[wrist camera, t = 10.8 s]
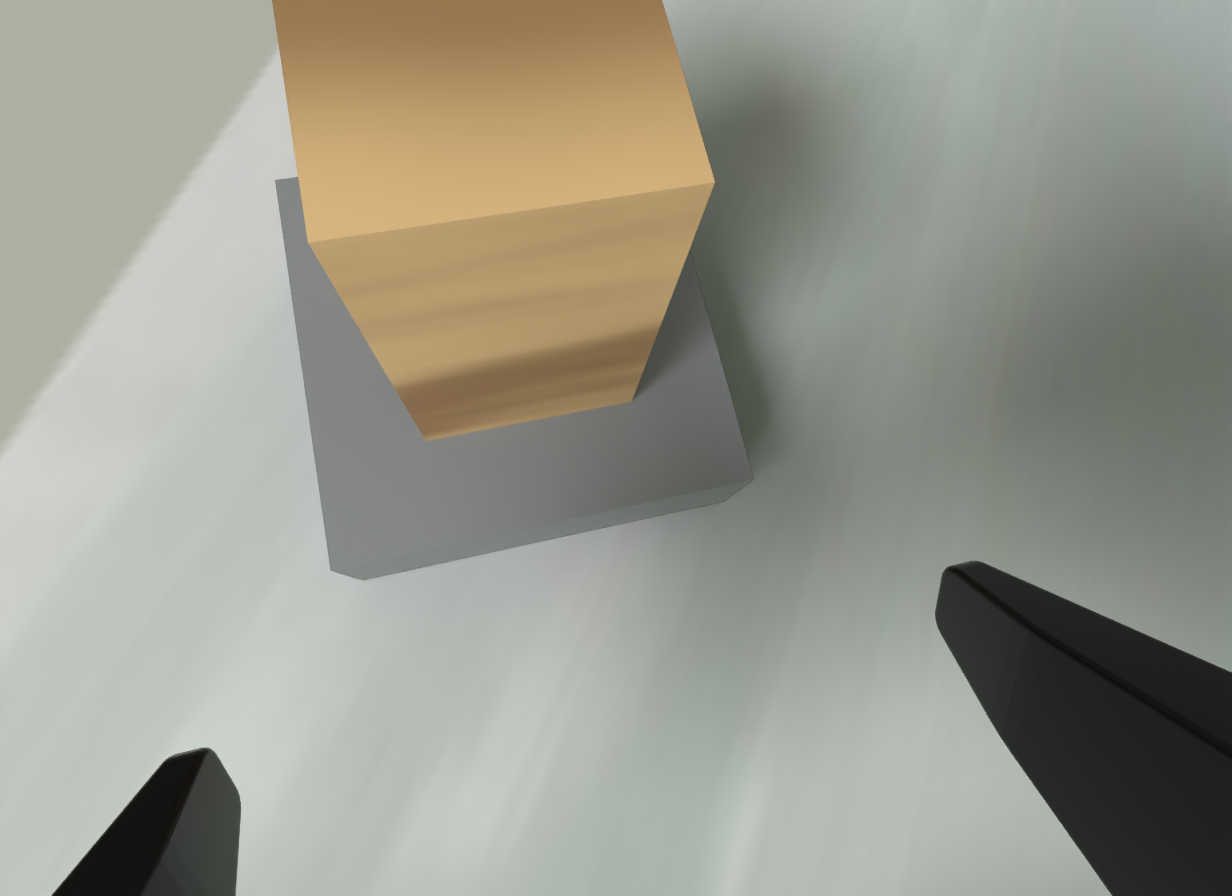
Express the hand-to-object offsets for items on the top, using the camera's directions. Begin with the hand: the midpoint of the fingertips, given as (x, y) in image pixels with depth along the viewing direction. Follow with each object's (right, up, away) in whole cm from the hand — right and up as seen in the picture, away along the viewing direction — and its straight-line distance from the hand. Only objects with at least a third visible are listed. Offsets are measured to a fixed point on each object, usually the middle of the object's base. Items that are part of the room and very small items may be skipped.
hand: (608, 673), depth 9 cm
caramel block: (-3, +6, +9) cm, 11 cm away
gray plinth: (-3, +5, +12) cm, 13 cm away
